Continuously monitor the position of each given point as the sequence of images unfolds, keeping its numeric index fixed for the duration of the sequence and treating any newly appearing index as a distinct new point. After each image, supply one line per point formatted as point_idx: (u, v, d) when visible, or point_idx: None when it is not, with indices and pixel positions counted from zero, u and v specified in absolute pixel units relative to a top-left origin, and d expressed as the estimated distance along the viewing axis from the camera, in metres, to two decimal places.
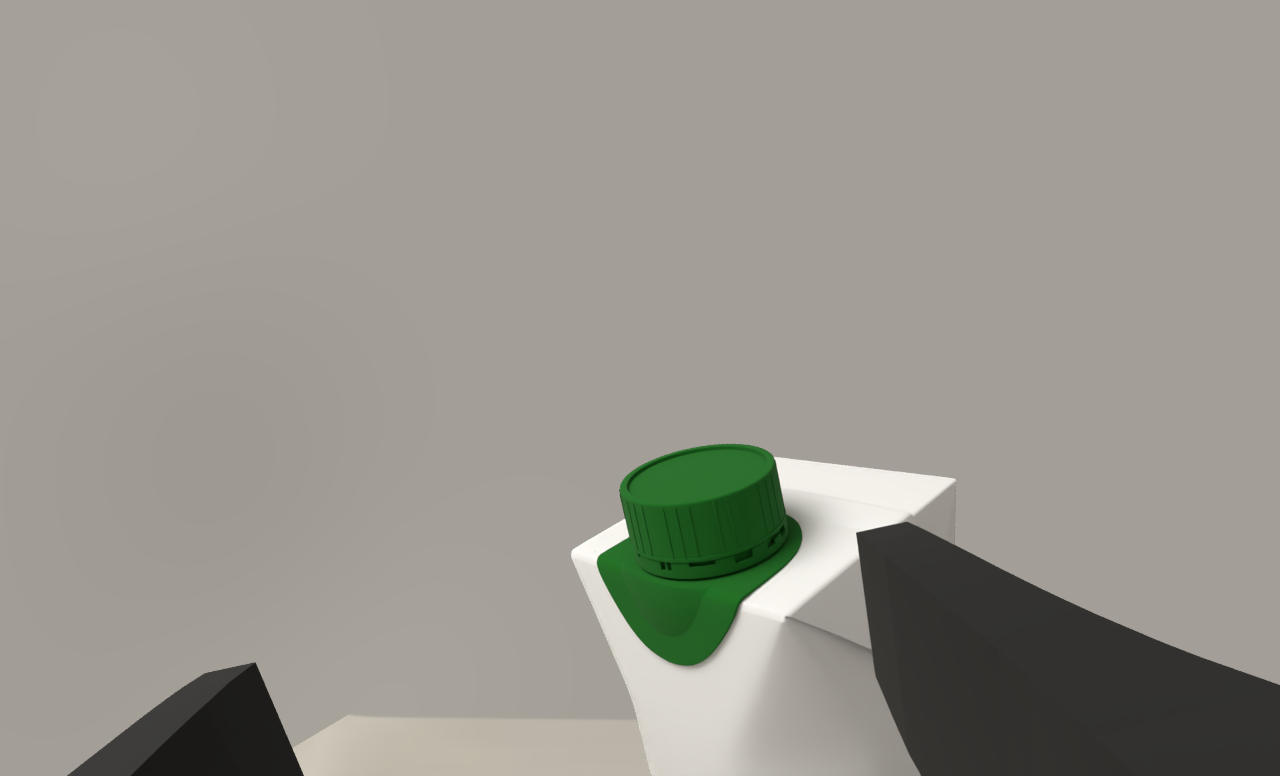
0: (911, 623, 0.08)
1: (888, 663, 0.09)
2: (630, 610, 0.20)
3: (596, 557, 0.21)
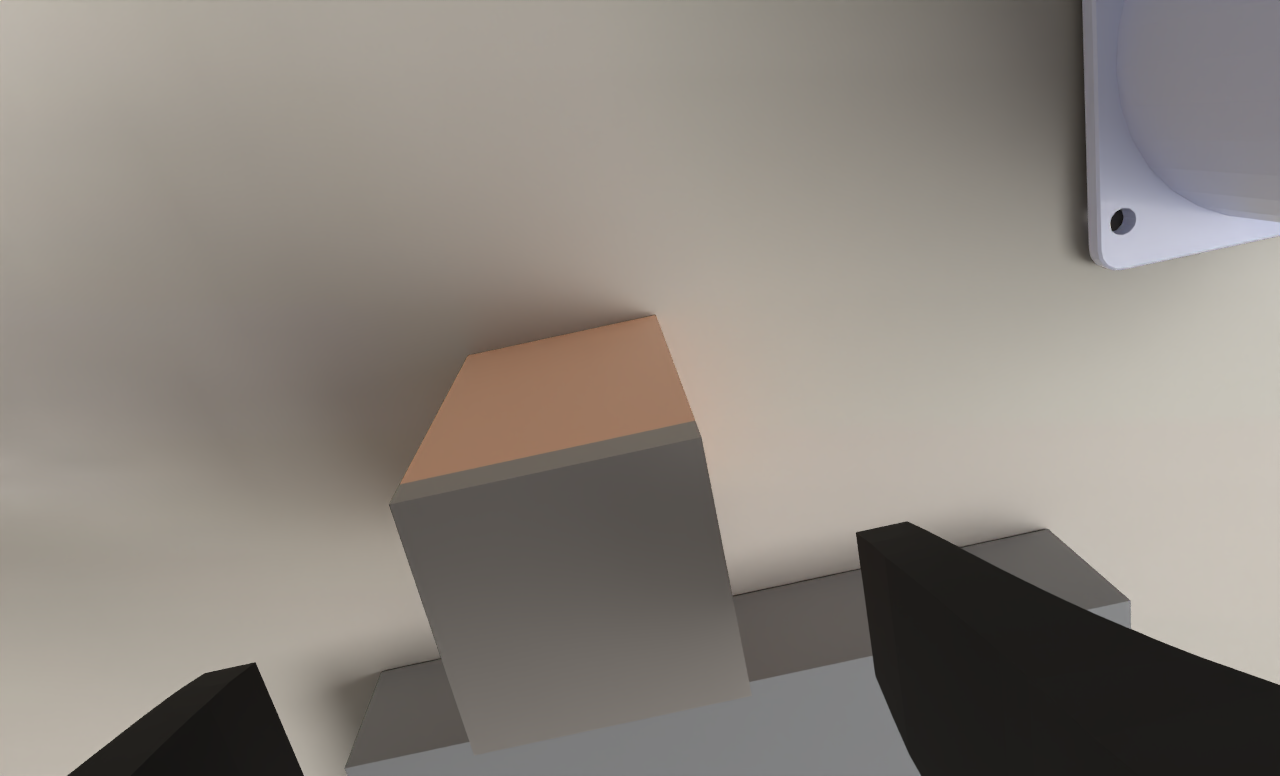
0: (911, 623, 0.08)
1: (888, 663, 0.09)
2: None
3: None
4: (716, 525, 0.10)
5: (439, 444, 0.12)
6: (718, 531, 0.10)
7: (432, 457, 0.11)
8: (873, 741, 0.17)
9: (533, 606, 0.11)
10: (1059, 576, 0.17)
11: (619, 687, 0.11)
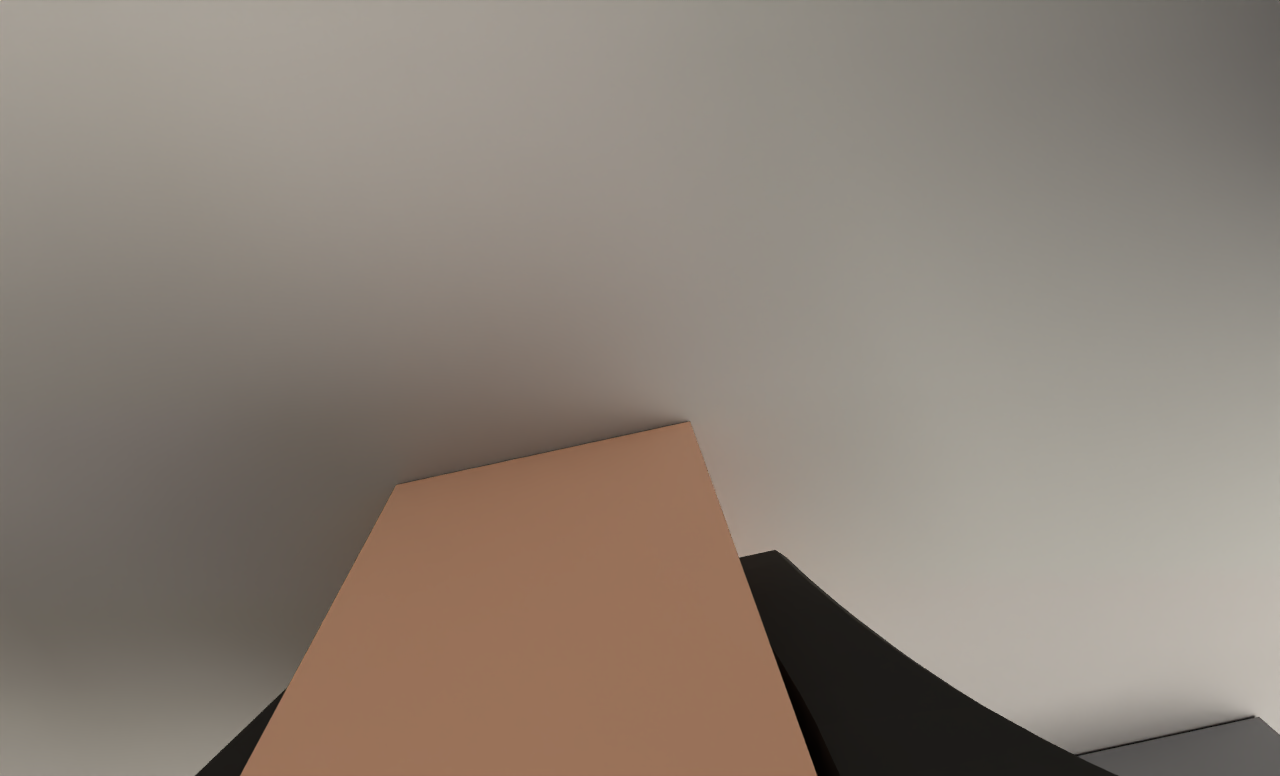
0: None
1: None
2: None
3: None
4: None
5: None
6: None
7: None
8: None
9: None
10: None
11: None
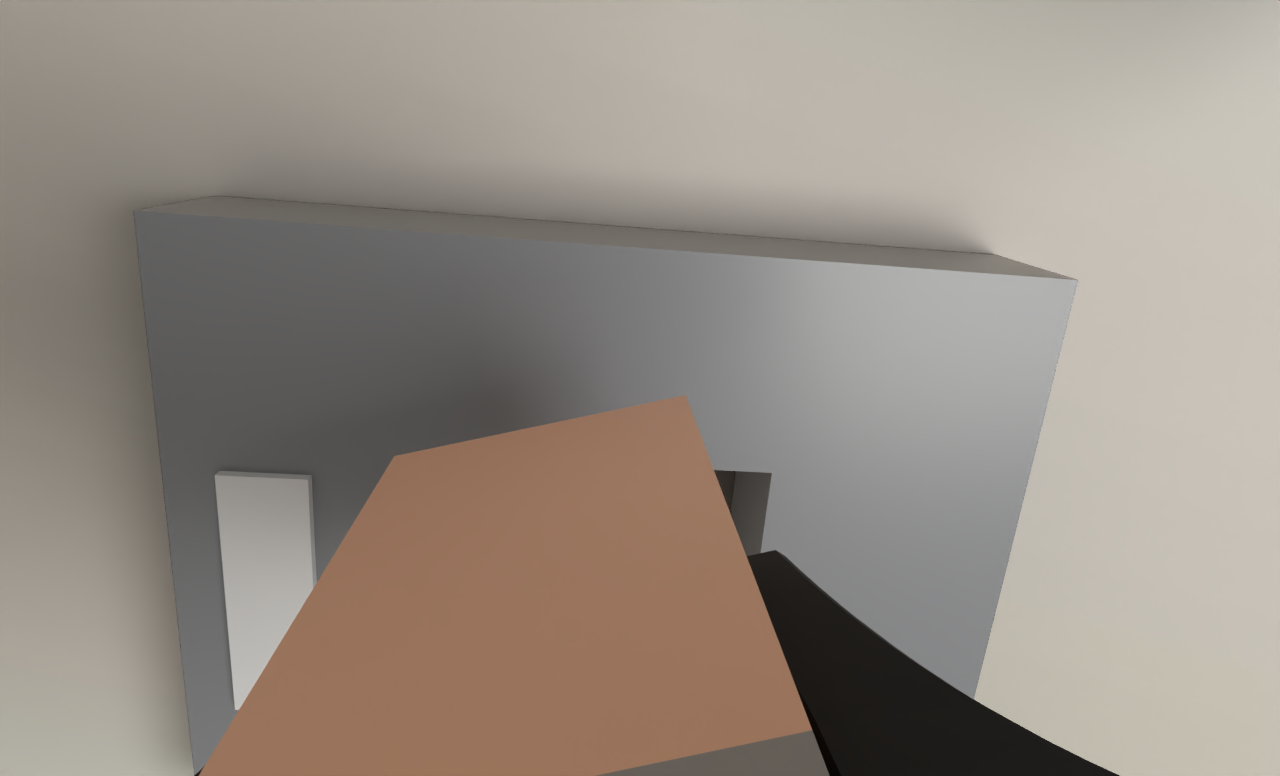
0: None
1: None
2: None
3: None
4: None
5: (273, 714, 0.06)
6: None
7: (243, 762, 0.05)
8: (761, 374, 0.14)
9: None
10: (1004, 266, 0.15)
11: None
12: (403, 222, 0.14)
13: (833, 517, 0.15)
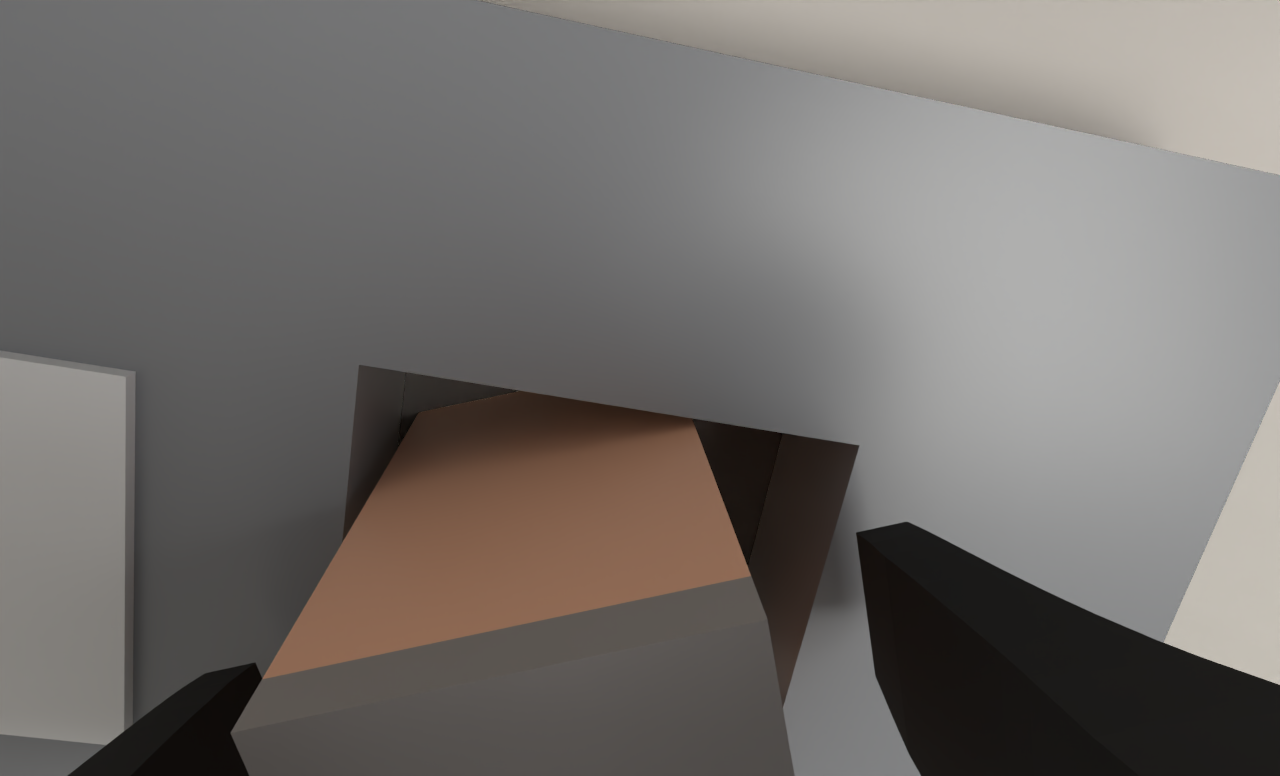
0: (911, 623, 0.08)
1: (888, 663, 0.09)
2: None
3: None
4: (787, 755, 0.06)
5: (344, 587, 0.08)
6: (790, 765, 0.06)
7: (327, 616, 0.07)
8: (867, 286, 0.09)
9: None
10: None
11: None
12: None
13: (940, 522, 0.10)
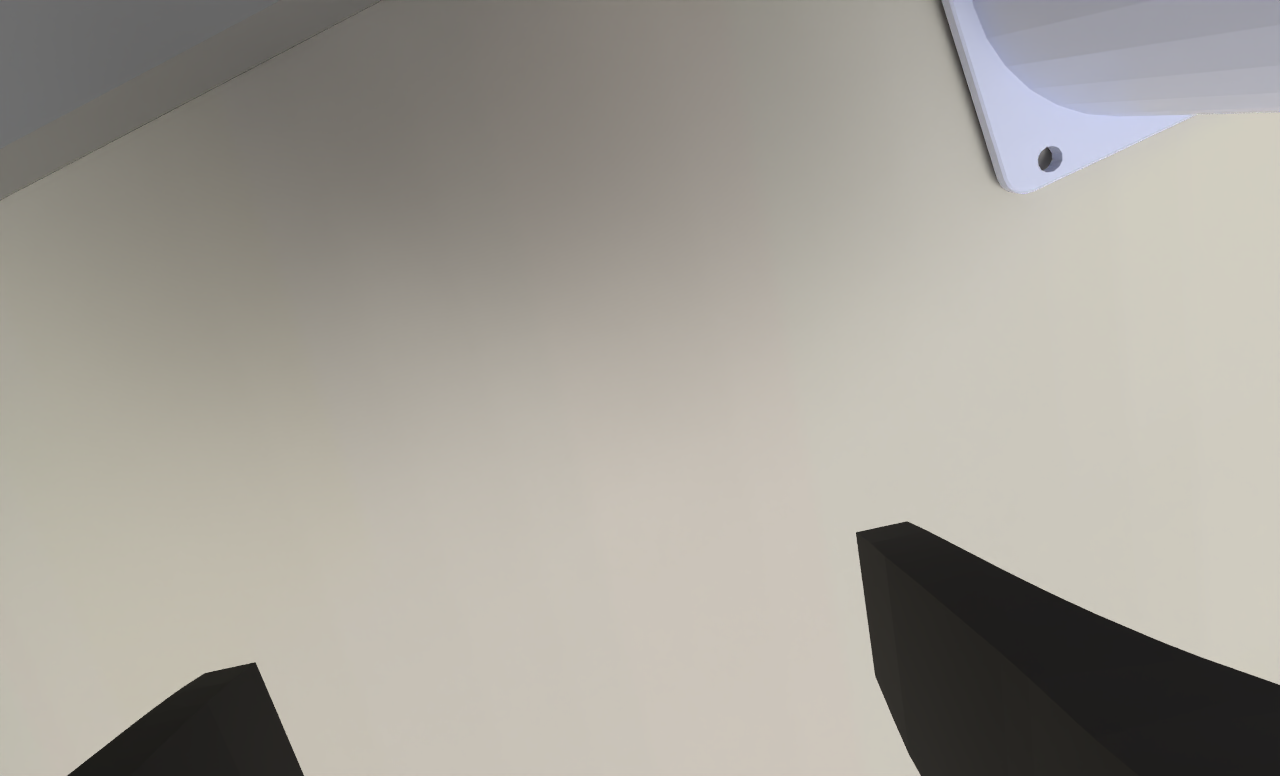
0: (911, 623, 0.08)
1: (888, 663, 0.09)
2: None
3: None
4: None
5: None
6: None
7: None
8: None
9: None
10: None
11: None
12: None
13: None
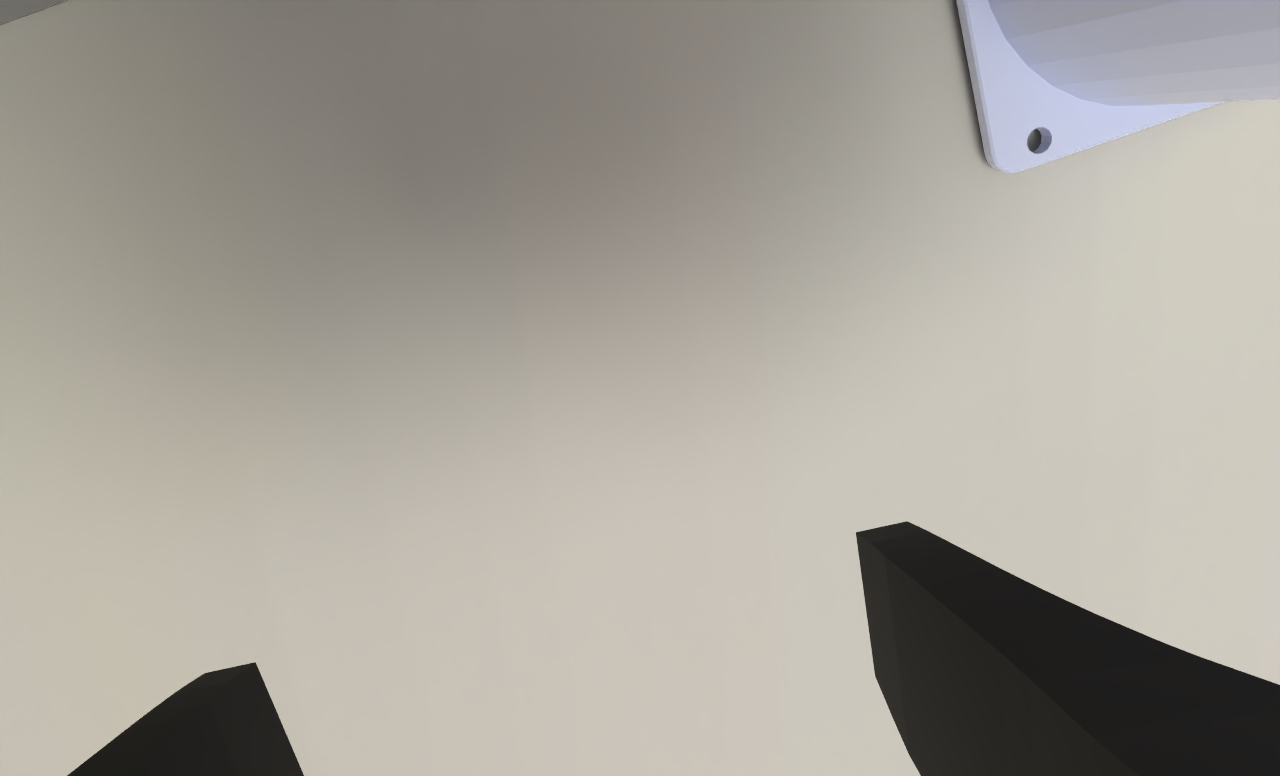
0: (911, 623, 0.08)
1: (888, 663, 0.09)
2: None
3: None
4: None
5: None
6: None
7: None
8: None
9: None
10: None
11: None
12: None
13: None
